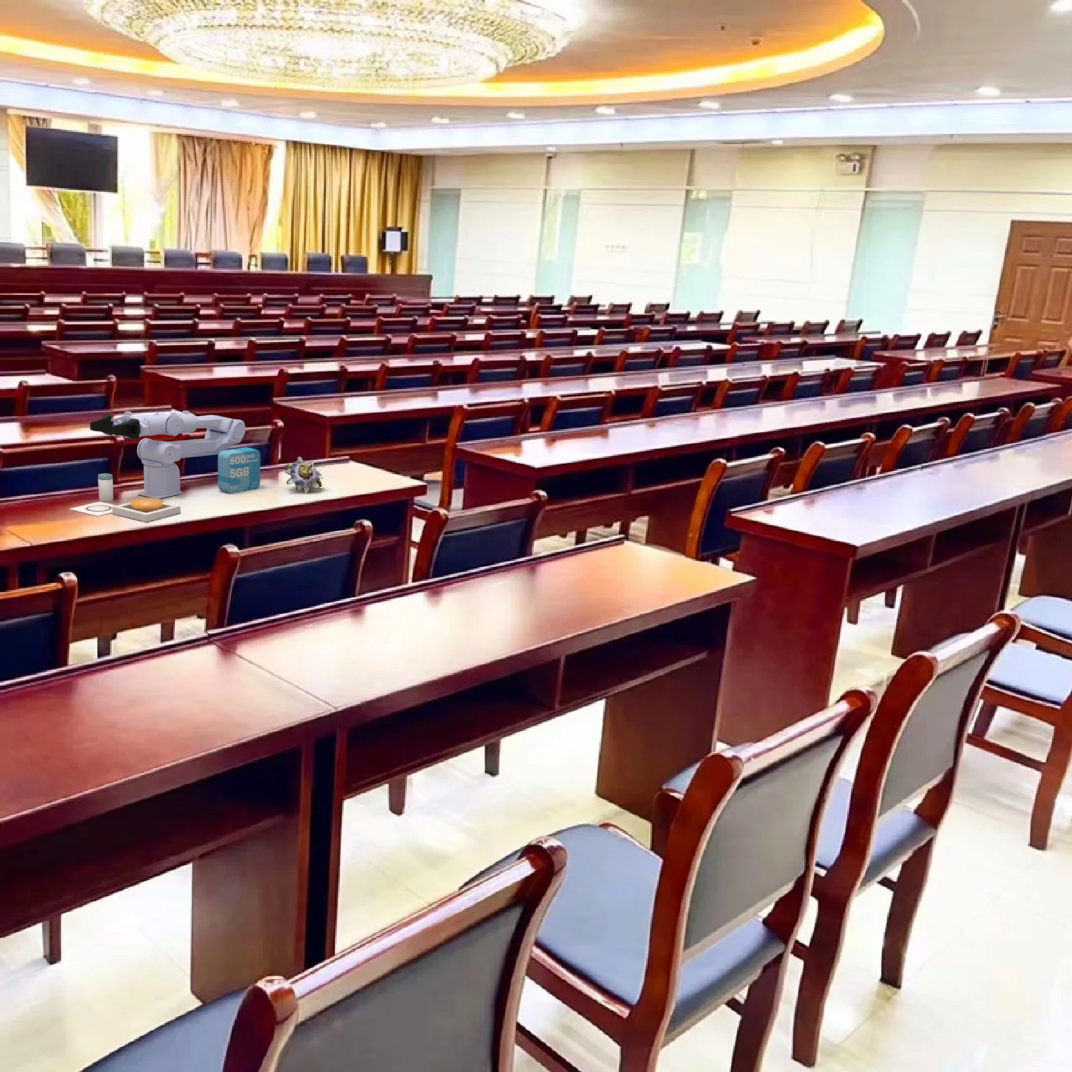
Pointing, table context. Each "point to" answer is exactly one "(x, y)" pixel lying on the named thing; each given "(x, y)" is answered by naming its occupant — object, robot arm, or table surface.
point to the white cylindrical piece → (105, 487)
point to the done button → (146, 504)
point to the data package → (238, 470)
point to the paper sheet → (95, 508)
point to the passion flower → (303, 475)
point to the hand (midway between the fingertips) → (101, 428)
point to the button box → (145, 512)
